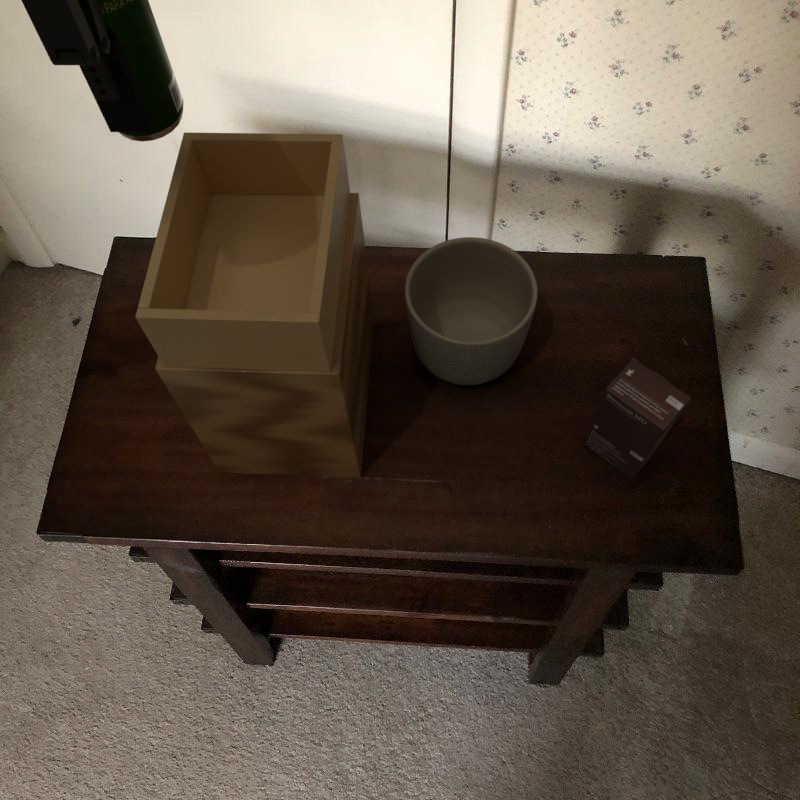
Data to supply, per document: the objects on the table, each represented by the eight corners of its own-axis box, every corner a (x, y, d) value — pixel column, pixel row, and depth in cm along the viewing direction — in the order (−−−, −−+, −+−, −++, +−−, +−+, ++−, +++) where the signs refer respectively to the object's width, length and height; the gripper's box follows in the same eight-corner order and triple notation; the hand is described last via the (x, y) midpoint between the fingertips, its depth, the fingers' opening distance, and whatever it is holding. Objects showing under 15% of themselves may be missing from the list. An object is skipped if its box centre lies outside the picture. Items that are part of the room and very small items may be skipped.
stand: (219, 472, 75) (154, 369, 58) (246, 320, 84) (197, 189, 66) (360, 478, 74) (339, 374, 57) (373, 324, 83) (358, 192, 65)
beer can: (181, 85, 56) (123, -84, 45) (191, 135, 54) (132, -31, 43) (108, 100, 56) (32, -67, 45) (114, 151, 53) (35, -12, 42)
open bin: (164, 367, 58) (134, 317, 52) (205, 191, 66) (183, 131, 60) (330, 372, 57) (318, 322, 51) (350, 194, 65) (342, 133, 59)
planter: (519, 408, 77) (532, 351, 68) (399, 393, 79) (395, 335, 69) (529, 308, 83) (542, 243, 74) (416, 296, 84) (415, 230, 75)
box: (579, 446, 75) (604, 387, 65) (606, 416, 77) (635, 353, 66) (630, 485, 73) (664, 430, 62) (657, 453, 75) (695, 394, 64)
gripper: (-23, -252, 28) (169, 197, 48) (91, -435, 37) (214, 11, 57) (-219, -246, 28) (54, 197, 49) (-60, -429, 37) (115, 12, 57)
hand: (140, 96), depth 53 cm, fingers closed on beer can, 5 cm apart
